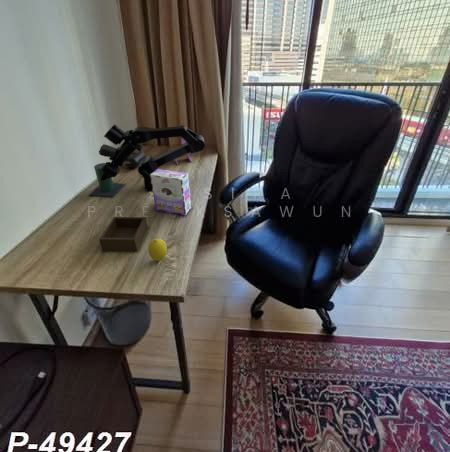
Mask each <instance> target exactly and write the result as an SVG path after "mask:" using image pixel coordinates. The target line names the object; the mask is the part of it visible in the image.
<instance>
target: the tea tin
mask: <svg viewBox="0 0 450 452" xmlns="http://www.w3.org/2000/svg"><path fill="white" fill-rule="evenodd" d="M105 163H106V162H101V163H100V162H99V163H97V164H95V165H94V166H93V168H94V172H95V176H96V179H97V182H98V186H99V187H100V190H101V192H109V191H112V190H113V189H114V185H113V183H114V182H113V177H111V178H108V179H106V180H103V181H102V180H101V177H102V175H103V173H104V171H103V170H102V167H103V166H104V165H105Z"/></svg>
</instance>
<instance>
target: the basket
mask: <svg viewBox="0 0 450 452" xmlns="http://www.w3.org/2000/svg"><path fill="white" fill-rule="evenodd" d="M148 229H149V227H148V223H147V217H146V216H113V218H112V219H111V221H110V222H109V223H108V225H107V226H106V228H105V230H104V231H103V232H102V234H101V236H100V237H99V238H98V242H99V245H100V248H101V251H102V252H138V251H139V249H140V246H141V245H142V242H143V240H144V238H145V235H146V233H147V231H148Z"/></svg>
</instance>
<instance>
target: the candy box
mask: <svg viewBox="0 0 450 452" xmlns="http://www.w3.org/2000/svg"><path fill="white" fill-rule="evenodd" d="M150 179H151V184H152V190H153V191H152V195H153V200H154V205H155V210H156V211H161V212H166V213H170V214H176V215H179V216H186V215H187V214H188V213H189V212H190V211H191V209H192V200H191V199H192V198H191V191H190V190H191V189H190V180H189V179H190V178H189V173H188V172H182V171H175V170H168V169H161V168H158V169H157V170H155V171H154V172H153V173H152V174H150Z"/></svg>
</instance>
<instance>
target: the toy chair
mask: <svg viewBox="0 0 450 452" xmlns="http://www.w3.org/2000/svg"><path fill="white" fill-rule="evenodd" d="M185 142H186V141H185V140H184V139H183V138H182V137H181V145H183V144H184V143H185ZM186 156H187V159H188V160H189V161H190V163H192V162H193V161H192V158H191V156H190V153H188V154H186ZM174 162H175V163H176V165H179V163H178V161H177V159H175V160H174Z"/></svg>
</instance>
